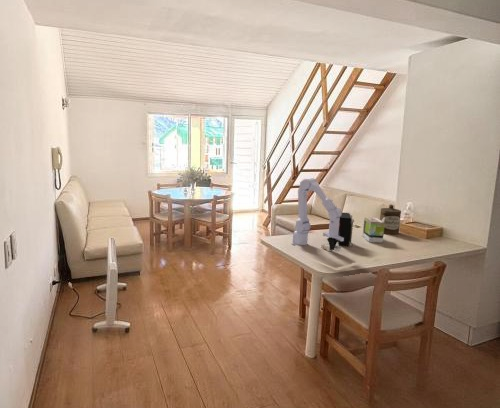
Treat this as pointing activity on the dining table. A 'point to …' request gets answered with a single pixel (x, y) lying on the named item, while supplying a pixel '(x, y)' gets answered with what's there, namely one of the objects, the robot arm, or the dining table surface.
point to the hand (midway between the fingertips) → (332, 249)
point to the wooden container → (391, 220)
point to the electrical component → (345, 229)
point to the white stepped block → (328, 247)
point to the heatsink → (334, 248)
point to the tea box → (373, 229)
